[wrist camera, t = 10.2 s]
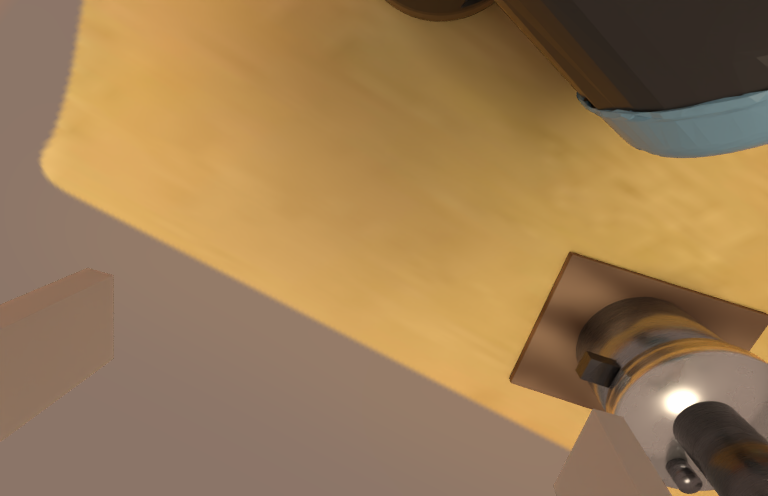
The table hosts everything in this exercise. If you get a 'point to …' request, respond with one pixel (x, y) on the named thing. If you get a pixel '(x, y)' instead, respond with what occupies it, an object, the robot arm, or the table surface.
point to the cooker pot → (631, 340)
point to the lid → (700, 417)
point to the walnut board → (588, 296)
